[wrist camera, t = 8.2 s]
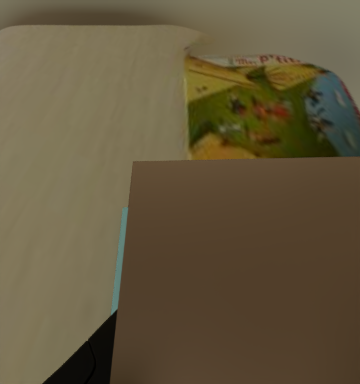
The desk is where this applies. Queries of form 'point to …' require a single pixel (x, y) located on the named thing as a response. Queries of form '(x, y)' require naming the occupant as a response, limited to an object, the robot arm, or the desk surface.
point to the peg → (241, 273)
